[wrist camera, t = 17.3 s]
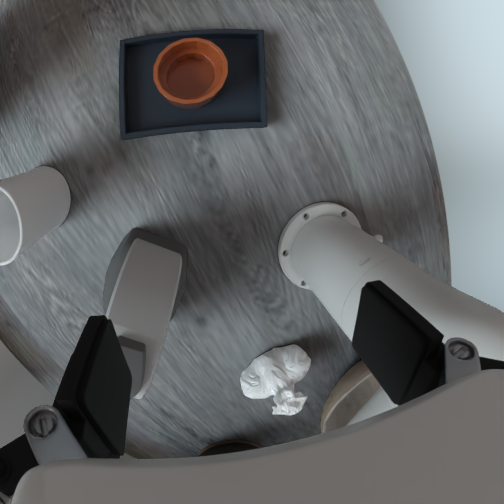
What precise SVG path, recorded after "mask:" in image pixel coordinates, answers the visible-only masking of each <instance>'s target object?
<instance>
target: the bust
mask: <svg viewBox="0 0 504 504" xmlns="http://www.w3.org/2000/svg"><path fill="white" fill-rule="evenodd" d="M310 365H311V359H310V358H309V357H308V355H307V353H306V352H305V351H304V350H303V349H302V348H300V347H299V346H297V345H294V344H292V345H288V346H285V347H278V348H273V349H272V350H270V351H268V352H265V353H264V354H262V355H260V356H259V357H257V358H255V359H254V360H253V361H252V363H251V364H250V365H249V366H248V367H247V368H246V369H245V370H244V371H243V372H242V374H241V379H240V382H241V388H242V391H243V393H244V395H245V396H247V397H249V398H252V399H257V398H261V399H263V398H268V397H269V396H270V395H275V397H274V398H273V400H274V402H275V403H276V404H277V407H275V406H273V407H272V408H273V413H272V414H273V415H274V414H279V415H281V414H283V415H288V416H290V415H294V414H296V413H297V412H299V411H300V410H302V408H303V404H304V403H305V401H306V399H307V397H308V396H307V395H303V394H302V393H301V392H298V393H296V394H294V388H295V386H294V384H295V383H296V382H298V381H300V380H302V379H303V377H304V376H305V375H306V373H307V372H308V370H309V368H310Z"/></svg>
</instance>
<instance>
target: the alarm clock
mask: <svg viewBox="0 0 504 504" xmlns="http://www.w3.org/2000/svg"><path fill="white" fill-rule="evenodd" d="M187 264H188V257H187V249H186V247H185V246H184V245H181V244H179V243H176V242H173V241H171V240H168V239H165V238H163V237H160V236H157V235H155V234H152V233H149V232H147V231H144V230H142V229H139V228H134V229H132V230H131V231H130V232H129V233H128V234H127V235H126V236H125V237H124V239H123V241H122V242H121V244H120V245H119V247H118V249H117V250H116V252H115V254H114V256H113V258H112V259H111V262H110V265H109V267H108V270H107V273H106V279H105V285H104V292H103V309H104V312H105V316H106V317H107V319H111V320H112V323H113V325H114V328H115V331H116V334H117V337H118V340H119V343H120V346H121V348H122V351H123V354H124V356H125V359H126V361H127V364H128V366H129V369H130V371H131V374H132V388H131V395H130V399H131V398H133V397H134V398H138V399H141V398H143V397H144V396H145V394H146V393H147V391H148V389H149V386H150V384H151V381H152V379H153V376H154V373H155V370H156V367H157V364H158V361H159V358H160V354H161V351H162V347H163V344H164V341H165V337H166V333H167V330H168V326H169V322H170V321H171V319H172V317H173V315H174V313H175V311H176V309H177V307H178V305H179V303H180V301H181V298H182V295H183V291H184V288H185V282H186V274H187Z"/></svg>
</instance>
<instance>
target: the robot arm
mask: <svg viewBox="0 0 504 504" xmlns="http://www.w3.org/2000/svg"><path fill="white" fill-rule="evenodd" d="M305 213H306V215H305V216H304V214H305ZM382 242H383V238H382V236H381V235H372V236H371V235H369V234H368V233H366V232H364V231H363V230H362V229H361V226H360V223H359V221H358V219H357V218H356V217H355V215H354V214H353V213H352V212H351V211H349V210H348V209H347V208H345V207H343V206H341V205H338V204H336V203H331V202H319V203H315V204H311V205H309V206H307V207H305V208H303V209H302V210H300V211H299V212H297V213H296V214H295V215H294V216H293V217H292V218H291V219H290V220H289V222H288V223H287V225H286V226H285V228H284V230H283V232H282V234H281V236H280V240H279V245H278V258H279V263H280V265H281V268H282V270H283V272H284V273H285V275H286V276H287V277H288V279H289V280H290V281H291V282H293V283H294V284H295V285H297V286H299V287H301V288H304V289H308V290H312V291H313V292H314V294H315V295H316V296H317V297H318V299H319V300H320V301H321V303H322V304H323V305H324V307H325V308H326V309H327V311H328V312H329V313H330V314H331V316H332V317H333V318H334V320H335V321H336V322H337V324H338V325H339V326H340V328H341V329H342V330H343V332H344V333H345V334H346V336H347V337H348V338H349V339H350V341H351V342H352V346H353V348H354V350H355V351H356V352H357V354H358V355H359V357H360V358H361V359H362V361H363V362H364V363H365V365H366V366H367V367H368V369H369V370H370V372H371V373H372V374H373V376H374V377H375V378H376V380H377V381H378V383H379V384H380V385H381V387H380V388H379V389H378V390H377V391H376V393H375V394H374V395H373V396H372V397H371V398H370V399H369V400H368V402H367V403H366V404H365V405H364V406H363V407H362V408H361V409H360V410H359V411H358V412H357V414H356V415H355V416H354V417H353V418H352V419H351V420H350V421H349V423H348V424H347V425H346V426H345V427H342V428H338V429H335V430H332V431H329V432H325V433H322V434H319V435H315V436H311V437H308V438H304V439H300V440H296V441H292V442H287V443H283V444H279V445H274V446H269V447H264V448H258V449H253V450H247V451H241V452H234V453H227V454H219V455H210V456H200V457H187V458H167V459H120V455H124V450H125V438H126V428H127V419H128V410H129V402H130V395H131V388H132V374H131V371H130V369H129V366H128V364H127V361H126V359H125V356H124V354H123V351H122V348H121V346H120V343H119V340H118V337H117V334H116V331H115V328H114V325H113V323H112V320H111V319H107V317H106V316H105V315H101V316H90V317H89V319H88V321H87V323H86V325H85V328H84V330H83V332H82V334H81V337H80V339H79V341H78V343H77V346H76V348H75V351H74V353H73V354H72V356H71V358H70V360H69V363H68V365H67V368H66V370H65V373H64V376H63V378H62V381H61V384H60V386H59V389H58V392H57V395H56V397H55V400H54V403H53V406H49V405H41V406H38V407H35V408H34V409H33V410H31V411H30V412H29V413H28V414H27V416H26V418H25V420H24V431H25V434H23V435H22V436H20V437H18V438H17V439H15V440H14V441H12V442H10V443H9V444H7V445H6V446H4V447H2V448H0V504H504V313H503V312H502V311H500V310H498V309H497V308H495V307H493V306H491V305H489V304H486V303H484V302H482V301H480V300H478V299H476V298H474V297H472V296H469V295H467V294H465V293H463V292H461V291H459V290H457V289H455V288H453V287H452V286H450V285H448V284H446V283H444V282H443V281H441V280H440V279H438V278H436V277H435V276H433V275H431V274H430V273H428V272H427V271H425V270H423V269H422V268H420V267H419V266H417V265H416V264H414V263H413V262H411V261H410V260H408V259H406V258H405V257H403V256H402V255H400V254H399V253H397V252H396V251H394V250H392V249H391V248H389V247H388V246H386V245H384V244H383V243H382ZM284 251H285V252H284ZM283 252H284V253H283Z"/></svg>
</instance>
